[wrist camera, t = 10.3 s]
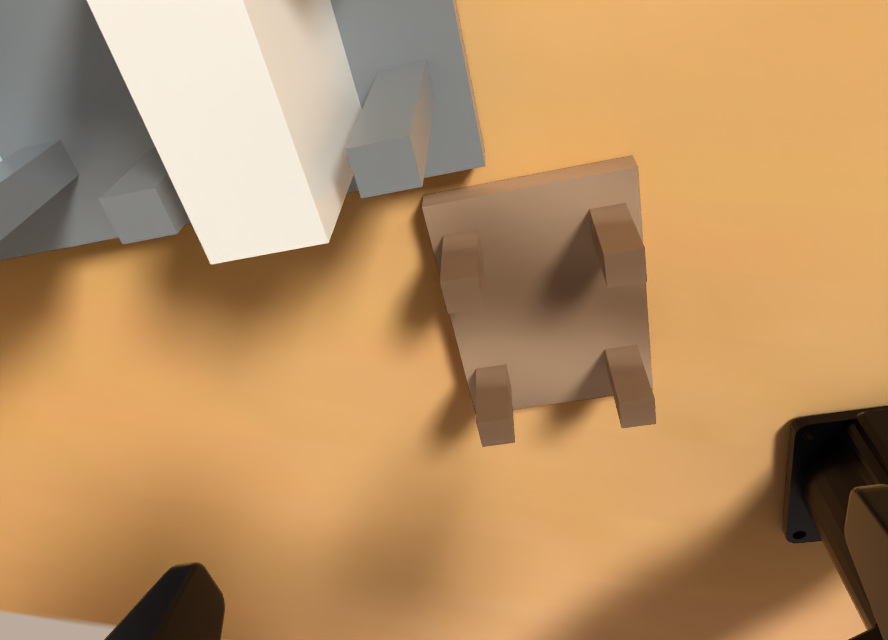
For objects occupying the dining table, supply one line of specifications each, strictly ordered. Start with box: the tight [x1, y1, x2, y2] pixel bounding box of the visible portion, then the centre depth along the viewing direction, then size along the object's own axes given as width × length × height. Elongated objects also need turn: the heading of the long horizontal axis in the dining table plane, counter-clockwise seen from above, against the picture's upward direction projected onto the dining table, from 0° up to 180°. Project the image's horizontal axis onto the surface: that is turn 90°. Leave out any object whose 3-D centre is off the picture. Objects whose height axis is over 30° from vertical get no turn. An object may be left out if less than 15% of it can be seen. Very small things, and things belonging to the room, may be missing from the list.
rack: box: [0, 0, 485, 261], centre depth 15 cm, size 10×18×7 cm, turn 102°
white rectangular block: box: [87, 0, 362, 264], centre depth 14 cm, size 7×2×6 cm, turn 12°
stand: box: [422, 156, 656, 447], centre depth 21 cm, size 8×6×3 cm
